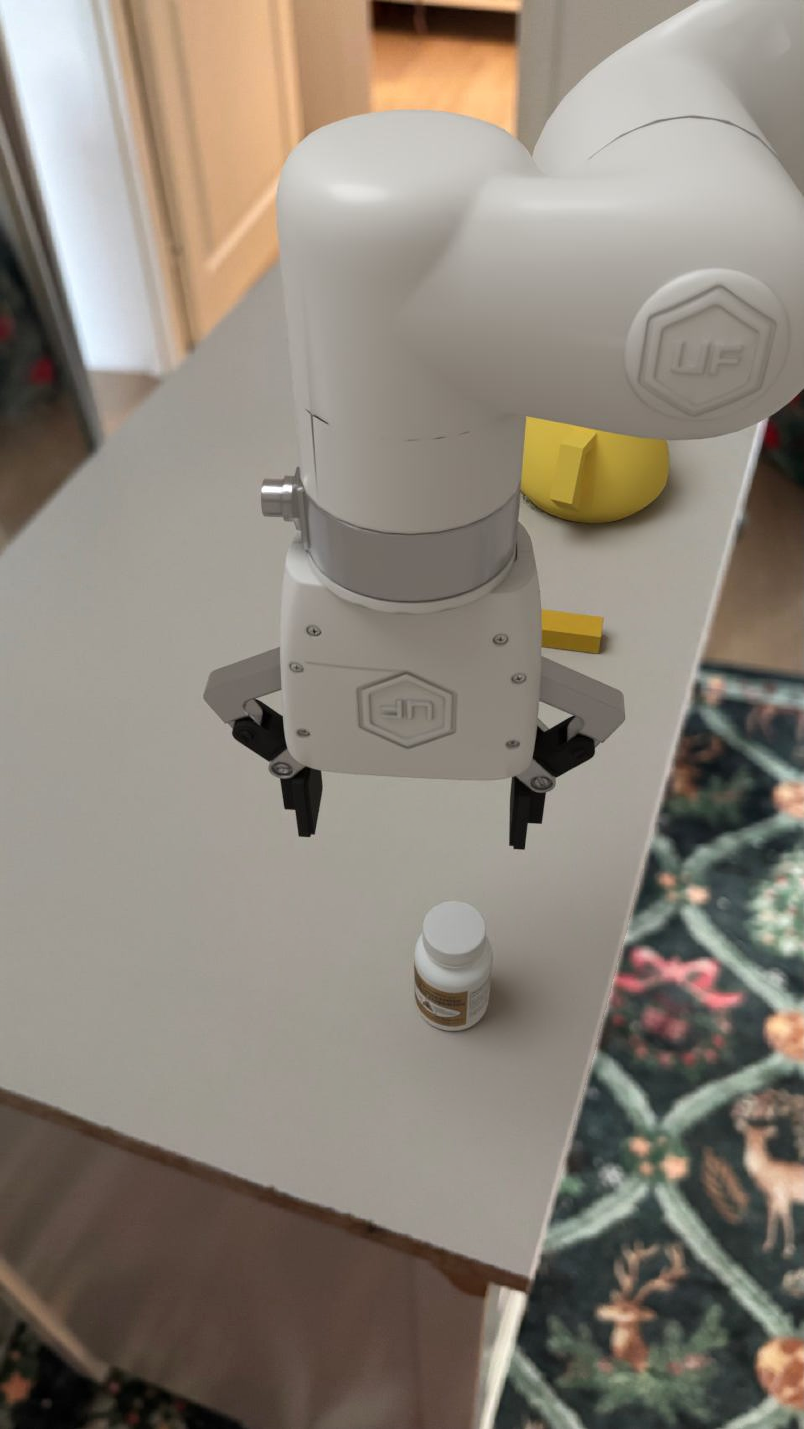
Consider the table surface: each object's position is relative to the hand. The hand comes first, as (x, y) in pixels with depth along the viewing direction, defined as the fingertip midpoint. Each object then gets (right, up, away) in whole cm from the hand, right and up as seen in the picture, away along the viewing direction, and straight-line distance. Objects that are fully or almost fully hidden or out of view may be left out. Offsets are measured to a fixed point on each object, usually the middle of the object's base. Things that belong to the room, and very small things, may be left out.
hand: (413, 818), depth 50 cm
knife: (+5, +12, +36) cm, 39 cm away
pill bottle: (+2, -12, +14) cm, 18 cm away
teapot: (+15, +26, +51) cm, 59 cm away
